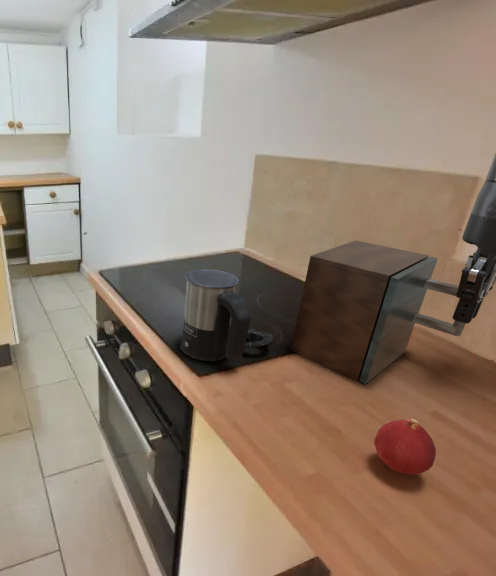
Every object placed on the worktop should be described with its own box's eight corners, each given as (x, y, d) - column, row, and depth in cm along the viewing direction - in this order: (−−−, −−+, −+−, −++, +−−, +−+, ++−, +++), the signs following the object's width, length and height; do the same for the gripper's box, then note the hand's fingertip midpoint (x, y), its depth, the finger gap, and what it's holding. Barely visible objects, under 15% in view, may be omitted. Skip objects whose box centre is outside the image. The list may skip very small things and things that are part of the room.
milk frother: (169, 347, 73) (174, 276, 68) (216, 322, 83) (223, 257, 77) (235, 381, 64) (247, 300, 58) (279, 347, 73) (293, 276, 68)
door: (449, 368, 67) (490, 268, 60) (413, 406, 58) (456, 293, 50) (399, 349, 73) (430, 256, 65) (359, 381, 63) (390, 277, 56)
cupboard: (397, 349, 73) (429, 255, 66) (357, 381, 64) (389, 275, 56) (333, 325, 82) (355, 240, 75) (290, 350, 73) (310, 255, 65)
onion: (374, 444, 51) (391, 396, 48) (428, 470, 47) (450, 419, 44) (362, 469, 47) (379, 418, 44) (419, 499, 43) (443, 446, 40)
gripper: (532, 224, 49) (481, 341, 56) (551, 212, 57) (505, 316, 63) (458, 215, 55) (420, 321, 61) (484, 204, 62) (448, 300, 69)
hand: (463, 318), depth 62 cm, fingers closed
